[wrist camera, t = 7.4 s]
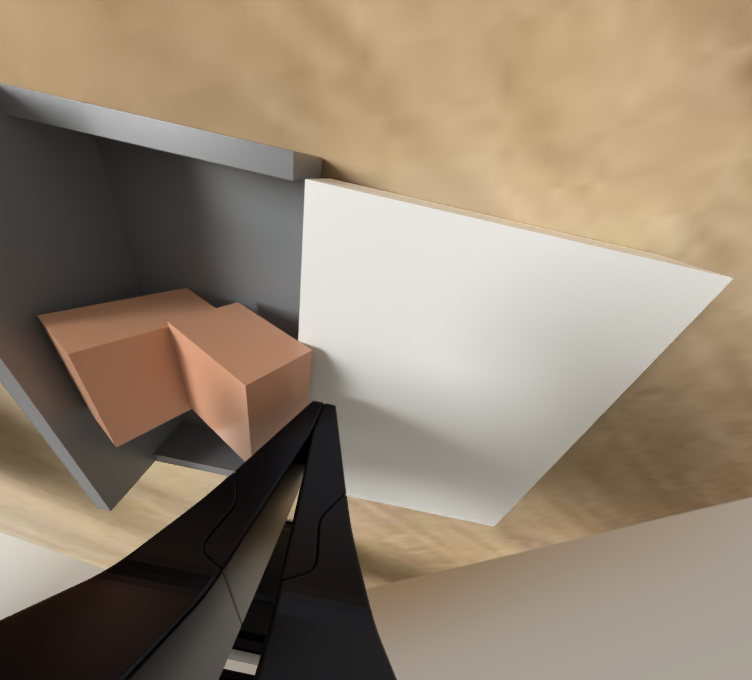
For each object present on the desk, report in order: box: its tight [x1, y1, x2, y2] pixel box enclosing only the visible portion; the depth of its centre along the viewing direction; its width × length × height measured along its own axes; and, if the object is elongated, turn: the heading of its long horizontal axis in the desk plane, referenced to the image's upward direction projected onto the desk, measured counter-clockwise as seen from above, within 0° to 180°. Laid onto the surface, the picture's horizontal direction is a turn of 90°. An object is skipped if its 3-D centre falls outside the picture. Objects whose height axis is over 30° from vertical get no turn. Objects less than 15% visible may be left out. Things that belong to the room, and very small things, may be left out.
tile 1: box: [167, 302, 312, 461], centre depth 10 cm, size 4×4×2 cm
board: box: [298, 178, 733, 526], centre depth 11 cm, size 14×11×2 cm
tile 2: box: [37, 288, 215, 447], centre depth 10 cm, size 4×4×2 cm
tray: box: [0, 83, 323, 511], centre depth 10 cm, size 15×8×5 cm, turn 169°
